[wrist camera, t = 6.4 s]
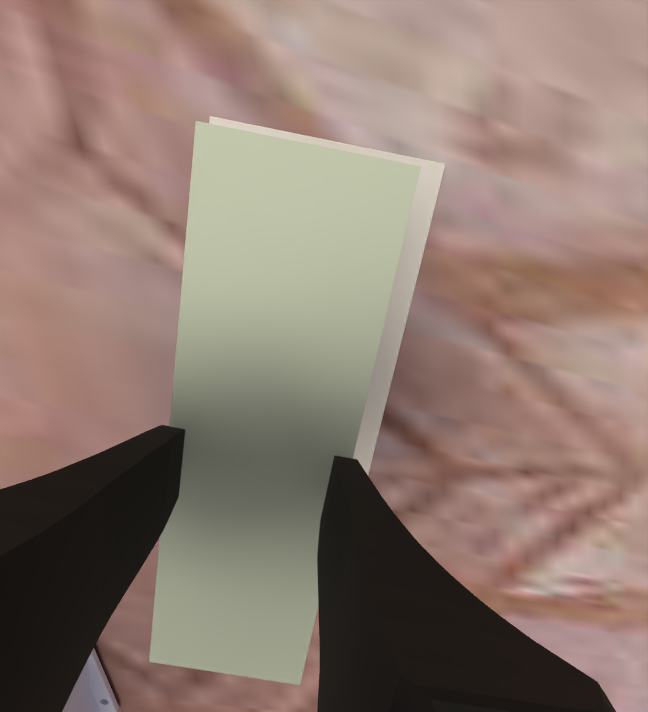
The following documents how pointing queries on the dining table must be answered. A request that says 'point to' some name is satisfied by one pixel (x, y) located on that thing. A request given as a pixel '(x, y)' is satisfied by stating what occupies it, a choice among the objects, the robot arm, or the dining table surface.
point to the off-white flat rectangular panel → (402, 283)
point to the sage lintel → (269, 387)
